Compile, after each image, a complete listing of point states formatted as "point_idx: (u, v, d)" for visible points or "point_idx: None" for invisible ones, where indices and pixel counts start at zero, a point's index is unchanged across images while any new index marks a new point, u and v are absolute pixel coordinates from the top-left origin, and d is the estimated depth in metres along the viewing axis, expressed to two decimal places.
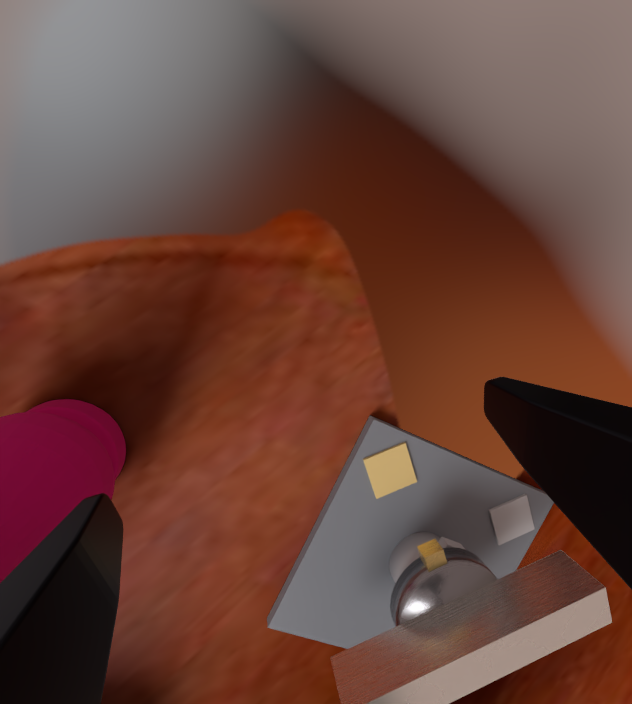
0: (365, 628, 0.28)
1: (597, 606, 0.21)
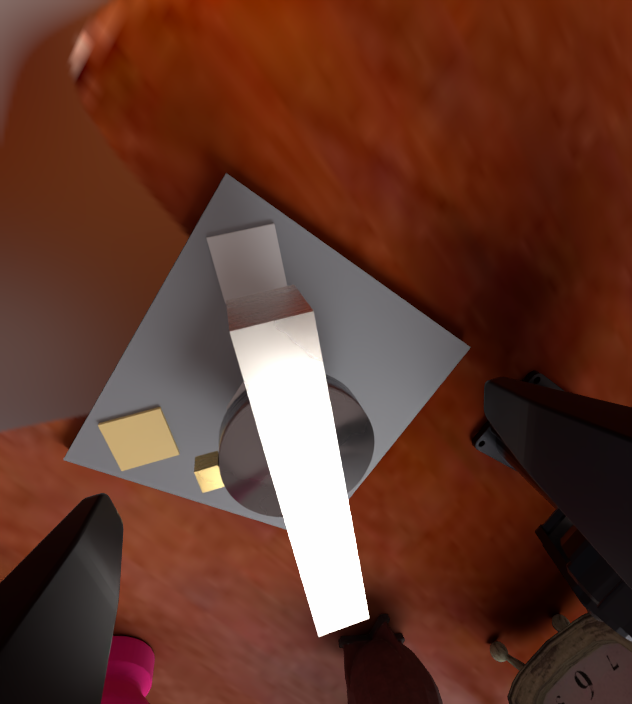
0: None
1: (268, 344, 0.11)
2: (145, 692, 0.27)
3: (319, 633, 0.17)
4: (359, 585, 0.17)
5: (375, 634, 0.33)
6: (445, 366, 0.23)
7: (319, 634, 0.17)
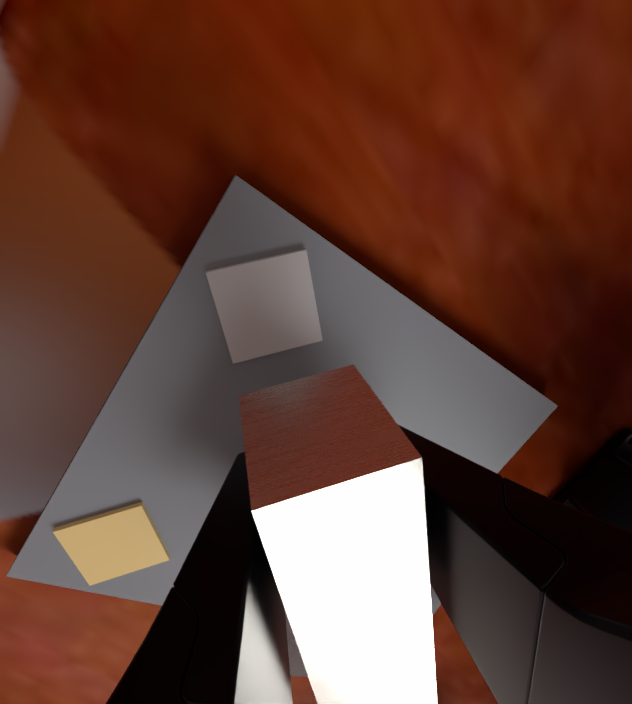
0: None
1: (328, 523, 0.05)
2: None
3: None
4: None
5: None
6: (523, 430, 0.17)
7: None
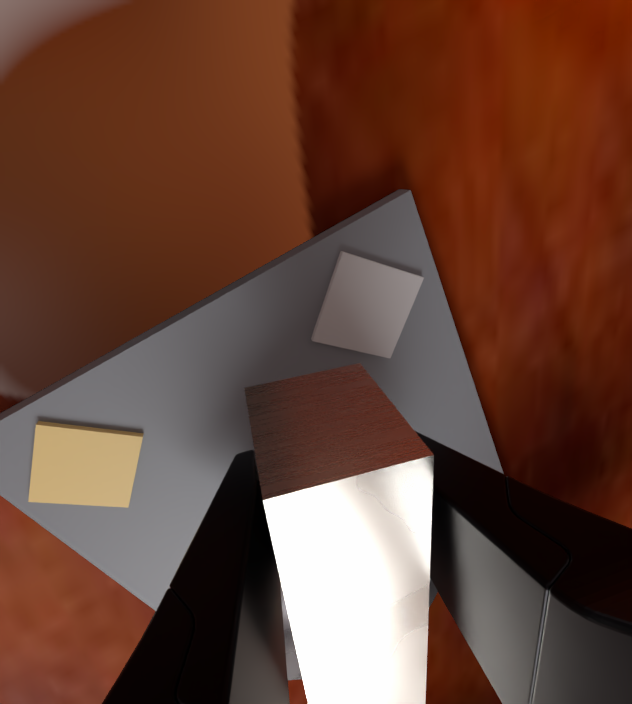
0: None
1: (336, 517, 0.05)
2: None
3: None
4: None
5: None
6: None
7: None
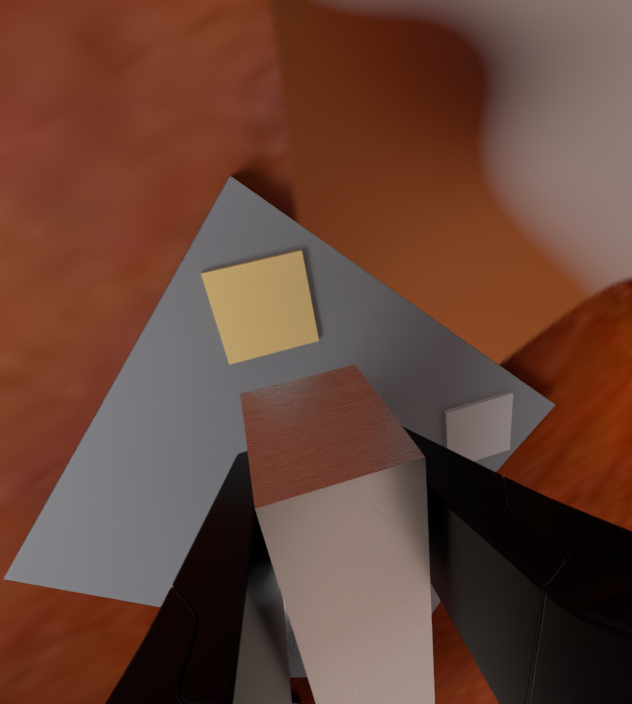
0: None
1: (330, 522, 0.05)
2: None
3: None
4: None
5: None
6: None
7: None
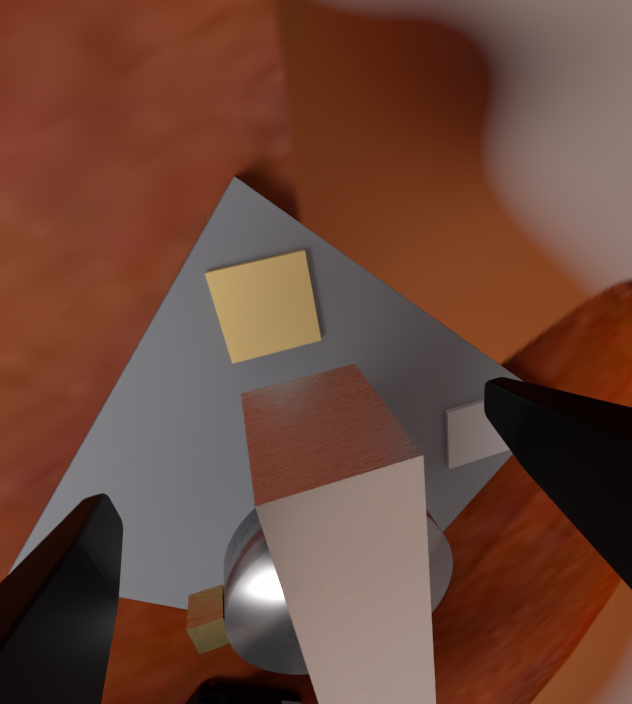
0: (205, 579, 0.16)
1: (330, 520, 0.06)
2: None
3: None
4: None
5: None
6: None
7: None
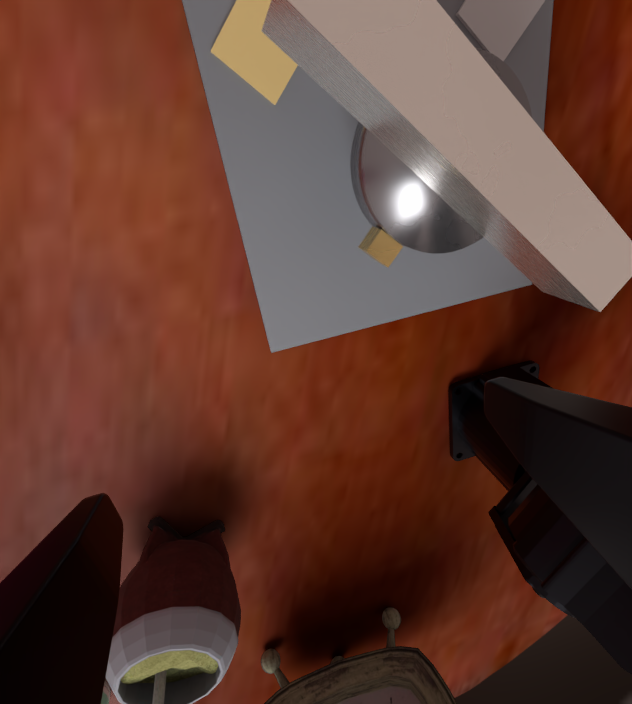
0: (385, 290, 0.21)
1: None
2: None
3: (598, 307, 0.15)
4: (611, 223, 0.14)
5: (195, 539, 0.26)
6: (506, 281, 0.23)
7: (599, 308, 0.15)
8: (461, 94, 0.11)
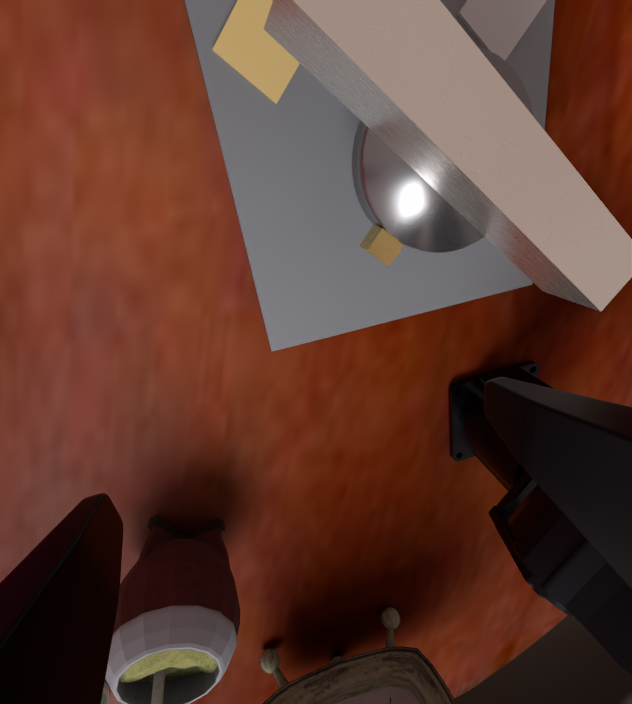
0: (385, 290, 0.21)
1: None
2: None
3: (599, 307, 0.15)
4: (611, 222, 0.14)
5: (195, 538, 0.26)
6: (507, 281, 0.23)
7: (600, 308, 0.15)
8: (463, 93, 0.11)
